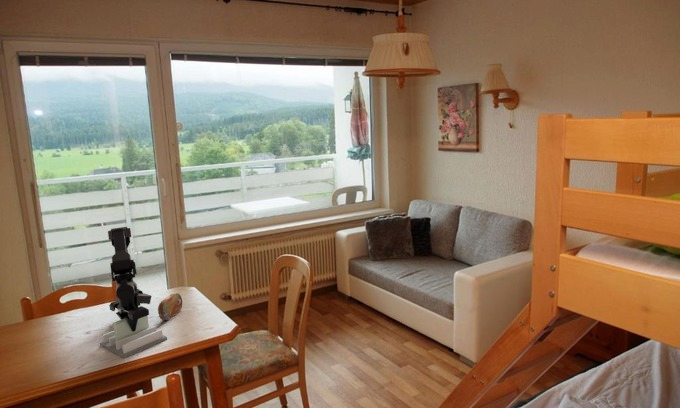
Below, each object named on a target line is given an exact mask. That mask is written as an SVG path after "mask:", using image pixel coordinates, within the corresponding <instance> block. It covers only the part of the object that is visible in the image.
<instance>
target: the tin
mask: <svg viewBox="0 0 680 408" xmlns="http://www.w3.org/2000/svg"><path fill="white" fill-rule="evenodd" d="M182 308H183V298H182V296H181V295H180V293H171V294H170V295H168V296H167V297H166V298H164V299H162V300H161V301H160V302H159V304H158V308H157V312H158V317H159V319H160V320H162V321H170V320H171V319H172V318H174V317H175V316H176V315H178V314H179V313H180V312H181V310H182Z"/></svg>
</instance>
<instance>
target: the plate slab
mask: <svg viewBox="0 0 680 408" xmlns="http://www.w3.org/2000/svg"><path fill="white" fill-rule="evenodd" d="M112 327H113V331H114V334H115V341H118V340H120V339H123V338H125V337H128V336H130V335H133V334H135V333H138V332H140V331H143V330H145V329H148V328H150V324H149V318H148V315H147V316H145V317H142V318H140V319H138V321H137V326H136V331H134V332H132V330H131V328H130V327H129V325H128V323H127V321H126V319H122V320H121V319H120V320H117V321H114V322H112Z"/></svg>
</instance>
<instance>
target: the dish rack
mask: <svg viewBox="0 0 680 408" xmlns="http://www.w3.org/2000/svg"><path fill="white" fill-rule="evenodd" d="M167 340H168V337H167V336H166V335H164V333H163V329H161V328H160V329H157V330H156V326H155V325H152V326H151V327H150V326H149V328H148V329H145V330H143V331H140V332H138V333H135V334H133V335H130V336H128V337H125V338H123V339H120V340H118V341H115V334H114V330H112V331H109V332H106V333H104V334H102V341H100V342H99V345H100V347H102V348H104V349H106V350H108V351H110V352H112V353H113V354H115V355H116V356H118V357H120V358H122V359H126V358H128V357H130V356H133V355H134V354H137V353H138V352H141V351H144V350H145V349H148V348H150V347H153V346H155V345H158V344H159V343H162V342H163V341H167Z"/></svg>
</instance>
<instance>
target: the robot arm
mask: <svg viewBox="0 0 680 408" xmlns="http://www.w3.org/2000/svg"><path fill="white" fill-rule="evenodd" d="M107 235H108V240H109V241H111V246H112V247H113V248H114V254H113V255H112V256H111V262H110V275H111V280H112V282H116V283H115V286H116V288H115V289H116V291H115V297H116V298H117V300H114V301H111V302H110V304H109V305H108V306H109V310H110V311H111V312H115V311H116V310H117V312H115V314H116V315H117V317H118V318H119V319H120V320H122V319H126V321H127V323H128V325H129V327H130V328H131V330H132V332H134V331H136V326H137V321H138V319H140V318H142V317H145V316H147V317H148V316H149V315H150V310H149V309H148V308H147V307H144V306H142V305H141V304H143V305H145V304H147V305H151V300H152V295H151V294H149V293H148V294H147V293H144V292H143V290H140V289H139V288H138V285H137V283H136V282H135V281H134V278H136V275H137V267H136V262H135V261H134V259H132V258H131V254H130V253H129V251H128V250H129V249H128V248H129V246H130V244H131V238H132V230H131V228H130V227H128V226H121V227H114V228H110V230H107Z"/></svg>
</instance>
